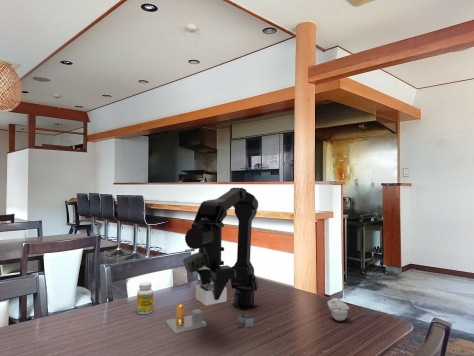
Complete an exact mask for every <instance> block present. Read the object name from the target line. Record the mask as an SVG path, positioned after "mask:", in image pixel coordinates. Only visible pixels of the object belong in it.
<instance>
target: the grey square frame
mask: <svg viewBox="0 0 474 356" xmlns="http://www.w3.org/2000/svg"><path fill="white" fill-rule="evenodd" d="M227 290H228V288H227V287H226V286H225V288H224V290H223V292H222V294H221V296H220V298H219V300H215V298H214V288H213V282H212V281H211V282H210V283H205V284H201V283H200V284H196V285H195V299H196V300H197V301H198V302H200V303H202V304H203V305H204V306H210V305H215V304H219V303H226V302H227V298H228V297H227V295H228V294H227Z"/></svg>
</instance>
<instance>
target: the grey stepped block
mask: <svg viewBox="0 0 474 356" xmlns="http://www.w3.org/2000/svg"><path fill="white" fill-rule="evenodd" d="M254 319H255V317H253V316H251V315H250V314H248V313H243V314H239V315H238V322H237V323H234V324H233V325H234V328H243V327H244V328H249V327H254V321H255V320H254Z"/></svg>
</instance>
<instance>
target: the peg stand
mask: <svg viewBox="0 0 474 356" xmlns="http://www.w3.org/2000/svg"><path fill="white" fill-rule="evenodd" d="M203 316H204V313H203V311H202V310H201V309H199V308H198V309H193V310H191V314H190V315H186V316H185V304H184V303H178V304H176V314H175V317H176V318H172V319H170V318H169V319H167V320H166V321H165V323H166V325H167V326H168V327H169V328H170V329H171V330H172V331H173V332H174V333H175V334H178V333H183V332H189V331H191V330H195V329H200V328H204V327H207V322H206V321H204V320H203V319H204V318H203Z"/></svg>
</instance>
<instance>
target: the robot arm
mask: <svg viewBox="0 0 474 356" xmlns="http://www.w3.org/2000/svg"><path fill="white" fill-rule="evenodd" d="M232 207H233V208H234V214H235V216H236V218H237V220H238V226H237V227H238V228H237V229H238V230H237V232H238V233H237V251H236V253H237V254H236V262H235V263H234V265H232V266H229V265H226V264H225V261H224V260H222V252H224V251H225V247H223V246H222V242H223V241H222V237H223V236H222V232H223V231H222V230H223V228H224V227H225V224H224V223H223V221H224V219H225V218H226V217H227V215H228V210H229V209H231V208H232ZM258 208H259V201H258V199H257V198H256V196H255V195H253V194H252V193H250V192H249V191H247V190H246V188H244V187H231V188H230V189H229V191H226V192H225V193H223V194H222V195H221V196H219V197H217V198H214V199H208V200H203V201H202V202H201V203H200V205H199V207H198V209H197V212H196V214H195V217H194V220H193V222H192V224H191V228H190V229H188V230H187V231H186V233H185V236H184V240H185V241H184V242H185V243H186V245H187V247H188V248H190V249H191V250H197V249H198V251H197V252H195V253H193V254H190V255H189V256H187V257H185V258H183V259H182V262H183V264H184V265H183V266H184V268H185V270H186V271H187V272H189V273H191V274H192V273H197V274H198V277H199V280H200V284H205V283H211V282H213V288H214V298H215V300H219V298H220V296H221V294H222V292H223V290H224V288H225V287H226V286H227V284H228V282H229V281H230V285H231V289H232V290H233V289H235V290H234V291H235V292H234V293H233V302H232V305H234V306H235V307H237V308H238V309H240V310H246V309H252V308H256V307H257V304H255V292H256V291H258V287H259V281H258V279H257V277H256V274H255V268H254V265H253V264H252V262H251V250H252V249H251V248H252V227H253V224H252V223H253V220H254V218H255V217H256V216H257V213H258V212H257V211H258Z"/></svg>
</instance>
